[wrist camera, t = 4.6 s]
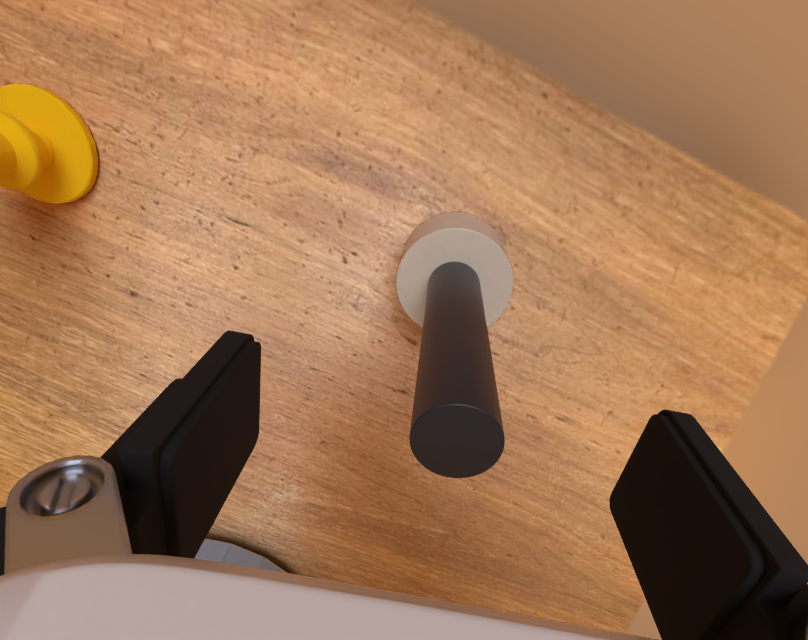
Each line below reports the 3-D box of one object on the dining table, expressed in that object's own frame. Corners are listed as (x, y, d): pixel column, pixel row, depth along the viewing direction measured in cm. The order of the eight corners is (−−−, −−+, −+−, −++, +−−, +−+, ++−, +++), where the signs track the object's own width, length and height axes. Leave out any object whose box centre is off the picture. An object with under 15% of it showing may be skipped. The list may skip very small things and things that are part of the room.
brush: (518, 222, 21) (601, 373, 9) (491, 318, 23) (532, 536, 12) (411, 202, 21) (364, 329, 10) (395, 300, 23) (340, 499, 12)
